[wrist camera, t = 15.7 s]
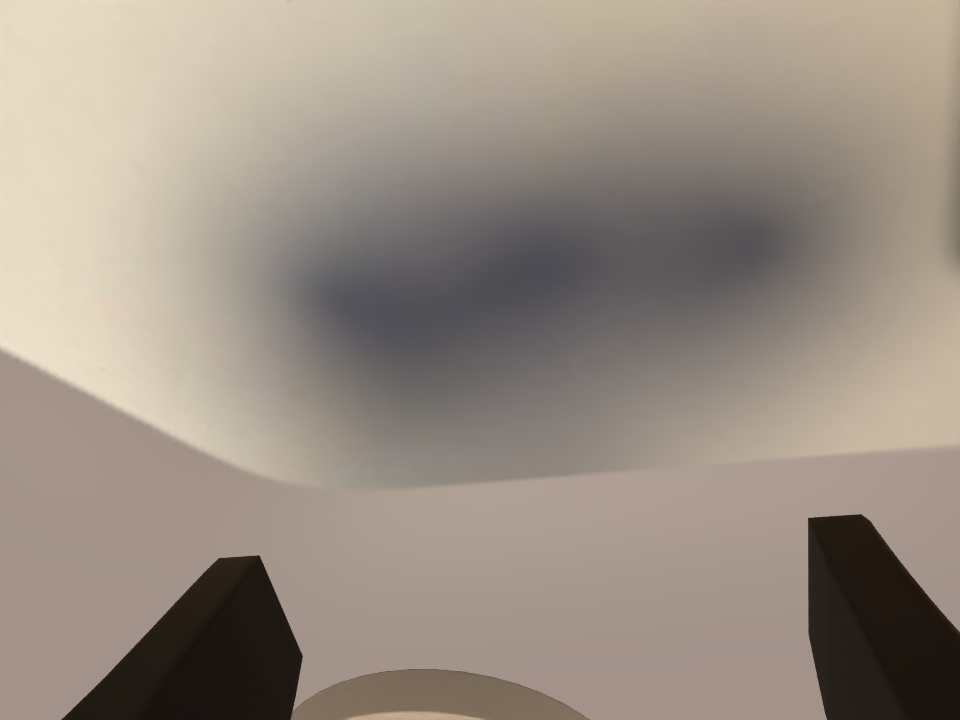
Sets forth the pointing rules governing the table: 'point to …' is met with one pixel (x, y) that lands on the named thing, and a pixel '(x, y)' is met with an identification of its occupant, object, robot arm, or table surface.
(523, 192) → the table surface
